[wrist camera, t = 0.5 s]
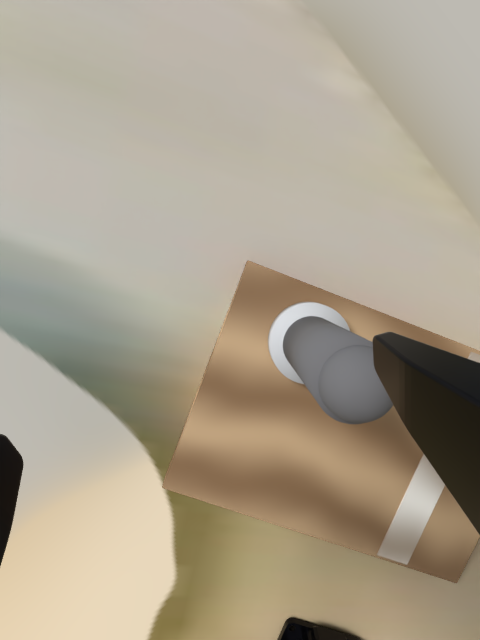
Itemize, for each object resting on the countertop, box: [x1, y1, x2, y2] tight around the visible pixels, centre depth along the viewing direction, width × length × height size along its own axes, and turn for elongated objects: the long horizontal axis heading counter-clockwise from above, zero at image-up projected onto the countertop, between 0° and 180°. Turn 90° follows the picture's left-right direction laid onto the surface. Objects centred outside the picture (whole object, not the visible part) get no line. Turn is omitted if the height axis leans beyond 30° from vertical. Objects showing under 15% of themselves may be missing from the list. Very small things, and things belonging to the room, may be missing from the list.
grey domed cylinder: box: [268, 302, 393, 424], centre depth 19 cm, size 5×5×11 cm
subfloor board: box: [162, 261, 480, 583], centre depth 26 cm, size 16×23×2 cm
